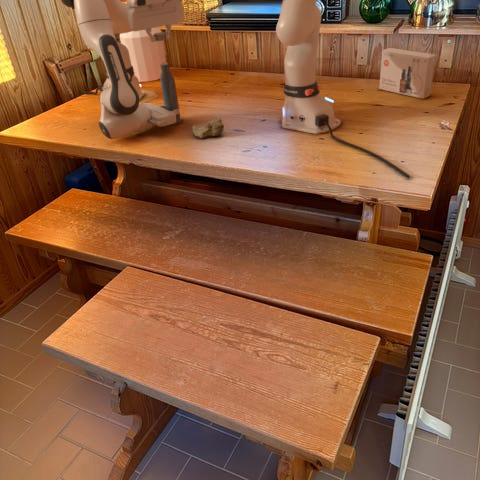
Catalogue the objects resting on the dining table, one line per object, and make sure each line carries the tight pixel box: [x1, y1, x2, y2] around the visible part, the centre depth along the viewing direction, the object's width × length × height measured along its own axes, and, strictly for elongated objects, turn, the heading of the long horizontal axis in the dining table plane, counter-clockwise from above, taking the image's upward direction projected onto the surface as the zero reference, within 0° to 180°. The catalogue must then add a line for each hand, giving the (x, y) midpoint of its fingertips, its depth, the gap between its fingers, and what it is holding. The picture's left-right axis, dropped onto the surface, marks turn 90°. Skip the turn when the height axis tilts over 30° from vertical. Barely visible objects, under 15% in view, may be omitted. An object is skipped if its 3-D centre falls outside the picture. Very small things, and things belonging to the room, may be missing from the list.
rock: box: [192, 116, 225, 139], centre depth 168 cm, size 11×6×10 cm
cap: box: [153, 31, 167, 41], centre depth 165 cm, size 4×4×2 cm
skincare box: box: [378, 47, 437, 100], centre depth 184 cm, size 21×6×16 cm, turn 40°
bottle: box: [159, 62, 182, 126], centre depth 177 cm, size 6×6×22 cm
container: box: [119, 27, 167, 83], centre depth 235 cm, size 21×21×28 cm
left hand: (174, 108), depth 181 cm, fingers closed on bottle, 5 cm apart
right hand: (160, 40), depth 166 cm, fingers closed on cap, 4 cm apart
